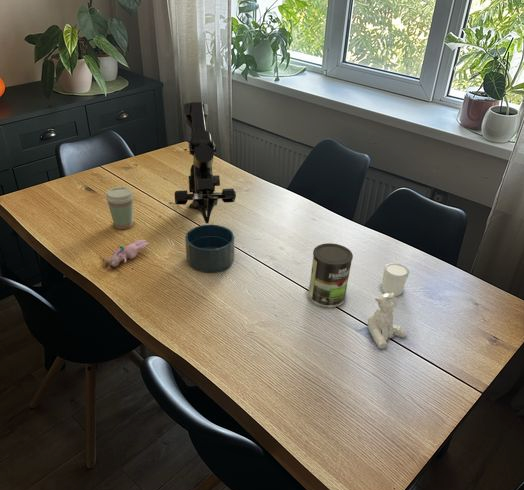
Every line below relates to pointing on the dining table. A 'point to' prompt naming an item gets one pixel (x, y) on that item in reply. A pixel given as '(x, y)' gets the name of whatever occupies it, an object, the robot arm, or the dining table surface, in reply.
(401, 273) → the white candle jar
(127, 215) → the coffee cup
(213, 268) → the bowl
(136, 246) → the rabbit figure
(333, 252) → the coffee can
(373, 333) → the seated beast figurine
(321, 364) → the dining table surface
